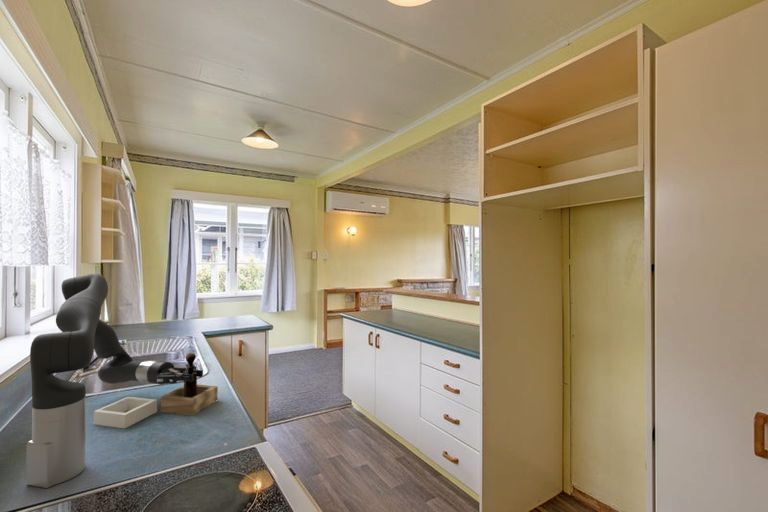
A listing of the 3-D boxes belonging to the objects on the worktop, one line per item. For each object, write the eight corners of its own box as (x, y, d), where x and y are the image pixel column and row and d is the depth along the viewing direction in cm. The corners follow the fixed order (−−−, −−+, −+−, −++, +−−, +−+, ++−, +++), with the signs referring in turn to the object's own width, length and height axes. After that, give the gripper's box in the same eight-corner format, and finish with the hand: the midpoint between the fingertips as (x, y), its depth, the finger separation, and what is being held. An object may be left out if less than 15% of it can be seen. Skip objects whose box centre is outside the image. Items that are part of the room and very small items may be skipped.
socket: (192, 415, 113) (192, 400, 113) (160, 411, 116) (161, 396, 116) (217, 400, 125) (217, 386, 125) (188, 397, 128) (188, 383, 128)
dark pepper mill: (180, 403, 122) (180, 351, 122) (201, 400, 125) (201, 349, 125) (178, 411, 116) (178, 356, 116) (200, 408, 119) (201, 354, 119)
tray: (124, 428, 105) (124, 415, 105) (93, 424, 107) (93, 411, 107) (156, 411, 116) (156, 399, 116) (128, 408, 118) (128, 396, 118)
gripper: (137, 367, 116) (181, 371, 113) (171, 355, 130) (212, 358, 127) (136, 390, 116) (181, 394, 113) (171, 375, 130) (212, 379, 127)
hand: (197, 375), depth 120 cm, fingers closed on dark pepper mill, 3 cm apart
